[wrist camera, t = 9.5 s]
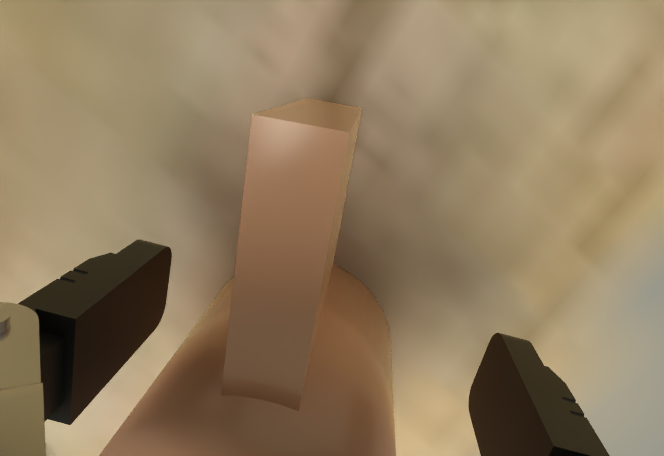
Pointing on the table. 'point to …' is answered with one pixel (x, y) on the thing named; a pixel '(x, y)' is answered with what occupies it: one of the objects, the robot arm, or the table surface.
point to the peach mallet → (280, 318)
